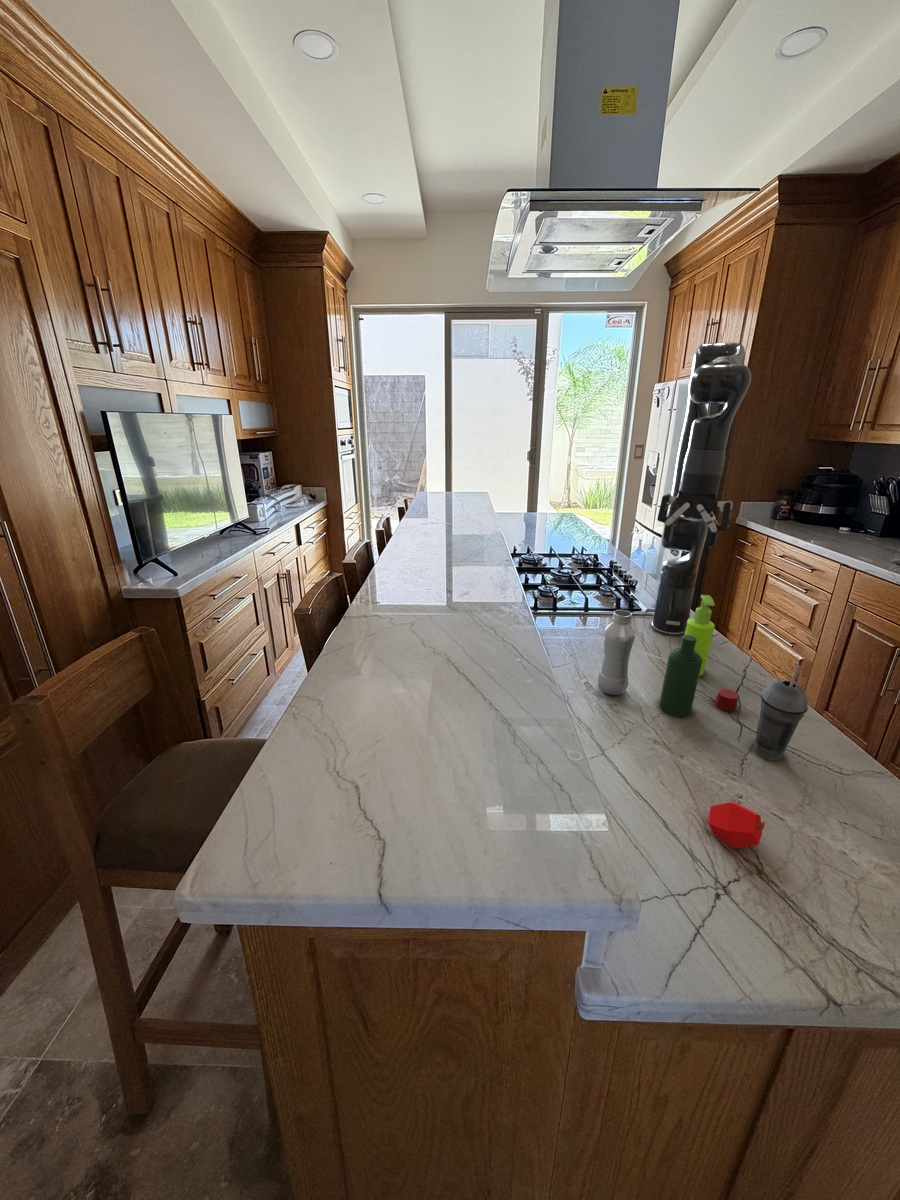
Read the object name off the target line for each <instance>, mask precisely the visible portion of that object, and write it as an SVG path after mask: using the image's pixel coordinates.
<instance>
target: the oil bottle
mask: <svg viewBox="0 0 900 1200" xmlns="http://www.w3.org/2000/svg"><path fill="white" fill-rule="evenodd" d="M696 641H697V640H696V638H695V637H694V636H691V635H685V634H683V636H682V637H681V643H680V647H677V648H674V649H671V650H670V652H669V653H668V657H667V663H666V668H665V671H664V672H665V673H664V677H663V681H662V682H663V683H662V688H661V691H660V692H661V693H660V698H659V702H658V706H659V709H660V710H661V711H662V712H664V713H665V714H668V715H669V716H671V717H675V718H686V717H688V716H690V715H691V712H692V708H693V704H694V699H695V695H696V691H697V686H698V681H699V677H700V676H699V673H700V669H701V665H702V658H701V656H700V655H699V654H698V653H697V652H696V651H695V650H694V648H695V644H696Z"/></svg>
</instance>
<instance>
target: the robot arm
mask: <svg viewBox="0 0 900 1200" xmlns="http://www.w3.org/2000/svg"><path fill="white" fill-rule="evenodd" d="M745 357H746V349H745V347H744V345H743V344H741V343H739V342H712V343H711V342H709V343H702V344H700V345H698V347H697V348H696V350H695V352H694V355H693V360H692V366H691V372H690V373H691V374H690V380H689V383H688V396H687V403H686V404H687V405H686V411H685V417H684V422H683V426H682V431H681V436H680V441H679V445H678V452H677V456H676V462H675V469H674V476H673V484H672V489H671V493H666V494H664V495H663V496H661V501H660V506H659V510H658V513H657V519H656V520H657V521H658V522H661V523H663V529H662V533H661V546H662V548H663V549H667V550H674V551H680V552H688V553H687V554H686V555H683V556H681V557H677V558H671V559H667V560H665V561H664V562H663V563H662V566H661V572H660V578H659V585H658V590H657V595H656V600H655V601H656V602H655V606H654V612H653V617H652V622H651V627H652V629H653V630H654V631H656V632H659V633H660V634H664V635H670V636H681V635H685V631H686V626H687V621H688V620H689V619H690V617H691V609H692V603H693V599H694V594H695V588H696V584H697V580H698V575H699V568H700V564H701V560H702V559H701V558H702V555H703V551H704V548H706V549H710V550H711V548H712V547H715V545H716V544H717V540H718V536H719V532H724V531H725V532H726V531H727V530H728V529H729V528H730V527H731V520H732V514H733V507H734V502H733V500H732V499H731V500H730V499H729V500H728V501H726V500H725V501H723V500H722V501H721V500H719V499H718V495H719V490H720V485H721V480H722V475H723V471H724V466H725V462H726V450H727V449H726V448H727V446H728V440H729V436H730V431H731V427H732V424H733V421H734V418H735V417H736V414H737V412H738V409H739V407H740V405H741V404H742V402H743V400H744V398H745V397H746V394H747V393H748V390H749V388H750V385H751V383H752V372H751V370H750V368H749V367H748V366H747V365H746V364H744V363H745ZM708 404H709V405H724V406H723V408H722V409H721V411H719V412H718V413H716V414H712V415H710V413H709V411H708V407H707V405H708ZM717 507H718V508H719V511H720V512H721V513H722V517H721V523H720V524H719V522H718V521H717V518H716V516H715V514H714V512H713V511H714V510H715V509H716V508H717ZM708 530H710V531H708ZM707 536H708V537H707ZM706 539H707V541H706ZM705 544H706V547H705Z"/></svg>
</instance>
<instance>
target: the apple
mask: <svg viewBox="0 0 900 1200" xmlns="http://www.w3.org/2000/svg"><path fill="white" fill-rule="evenodd" d="M707 820H708V821H707V822H708V825H709V827H710V830H711V832H712V835H714V836H715V837H717V838H718V839H719V840H721V841H722V842H724V843H725V844H726V845H728V846H730V847H731V848H733V849H734V850H736V849H742V848H747V847H748V848H749V847H752V846H758V845H760V841H761V839H762V835H763V831H764V828H765V825H766V821H764V820H763V821H762V818H761V815H760V814H759V813H757V812H756V811H754V810H751V809H749V808H748V807H746V806H744V805H742V804H741V803H739V802H731V801H729V802H724V803H720V804H713V805H710V806H709V811H708V818H707Z"/></svg>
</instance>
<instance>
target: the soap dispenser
mask: <svg viewBox="0 0 900 1200" xmlns="http://www.w3.org/2000/svg"><path fill="white" fill-rule="evenodd" d="M700 598H701V603H700V606H698V607H696V608H695V612H694V616H693V617H692V618H689V619H688V621H687V626H686V631H685V633H684V635H691V636H694V637H695V638H696V640H697V641H696V644H695V648H694V650H695V651H696V652H697V653H698V654H699V655H700V656H701V658H702V665H701V669H700V673H699V677H700V676H701V677H702V676H703V675H704V674H705V669H706V665H707V662H708V661H707V660H708V657H709V652H710V648H711V644H712V639H713V634H714V630H715V626H716V624H715V623H714V622H713V621H711V616H712V609H710V607H716V604H715V601H714V599H713V597H712V596H711V595H710V594H700Z"/></svg>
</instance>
